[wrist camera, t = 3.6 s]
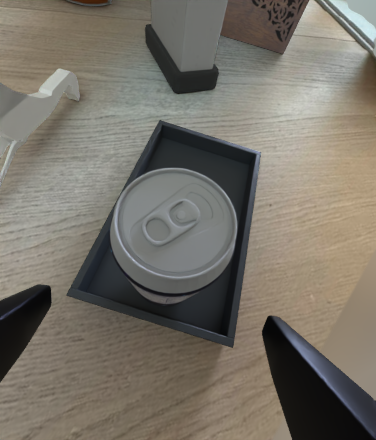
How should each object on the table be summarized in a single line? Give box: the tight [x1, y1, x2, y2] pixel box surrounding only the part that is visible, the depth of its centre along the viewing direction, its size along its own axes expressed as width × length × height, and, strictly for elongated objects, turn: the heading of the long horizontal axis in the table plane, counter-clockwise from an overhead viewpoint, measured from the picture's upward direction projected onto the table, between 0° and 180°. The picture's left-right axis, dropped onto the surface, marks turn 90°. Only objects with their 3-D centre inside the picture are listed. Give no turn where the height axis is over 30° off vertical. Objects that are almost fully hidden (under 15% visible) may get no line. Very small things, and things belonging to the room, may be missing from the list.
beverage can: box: [109, 168, 237, 306], centre depth 13 cm, size 6×6×12 cm
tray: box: [67, 120, 261, 348], centre depth 21 cm, size 21×13×2 cm, turn 164°
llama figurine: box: [0, 68, 80, 187], centre depth 21 cm, size 2×11×18 cm
